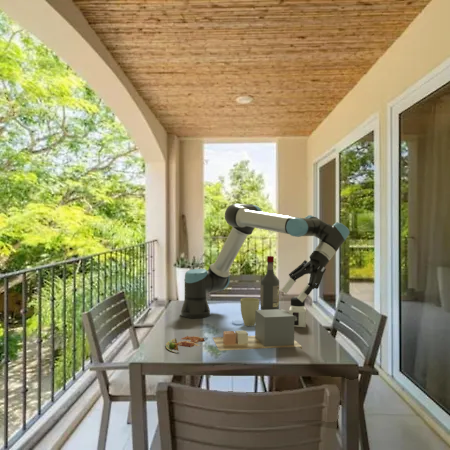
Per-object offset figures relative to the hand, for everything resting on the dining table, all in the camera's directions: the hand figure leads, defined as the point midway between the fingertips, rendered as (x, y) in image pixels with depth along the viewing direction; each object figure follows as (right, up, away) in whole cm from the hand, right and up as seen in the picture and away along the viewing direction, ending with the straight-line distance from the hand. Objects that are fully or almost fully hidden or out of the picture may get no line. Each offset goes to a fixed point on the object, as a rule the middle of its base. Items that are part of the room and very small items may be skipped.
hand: (291, 295), depth 154 cm
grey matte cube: (-8, -17, -4) cm, 19 cm away
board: (-15, -19, -5) cm, 24 cm away
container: (+8, -19, +27) cm, 33 cm away
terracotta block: (-25, -17, -7) cm, 31 cm away
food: (-41, -19, -7) cm, 46 cm away
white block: (-21, -17, -6) cm, 27 cm away
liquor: (-2, -19, +56) cm, 59 cm away
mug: (-16, -19, +26) cm, 36 cm away
